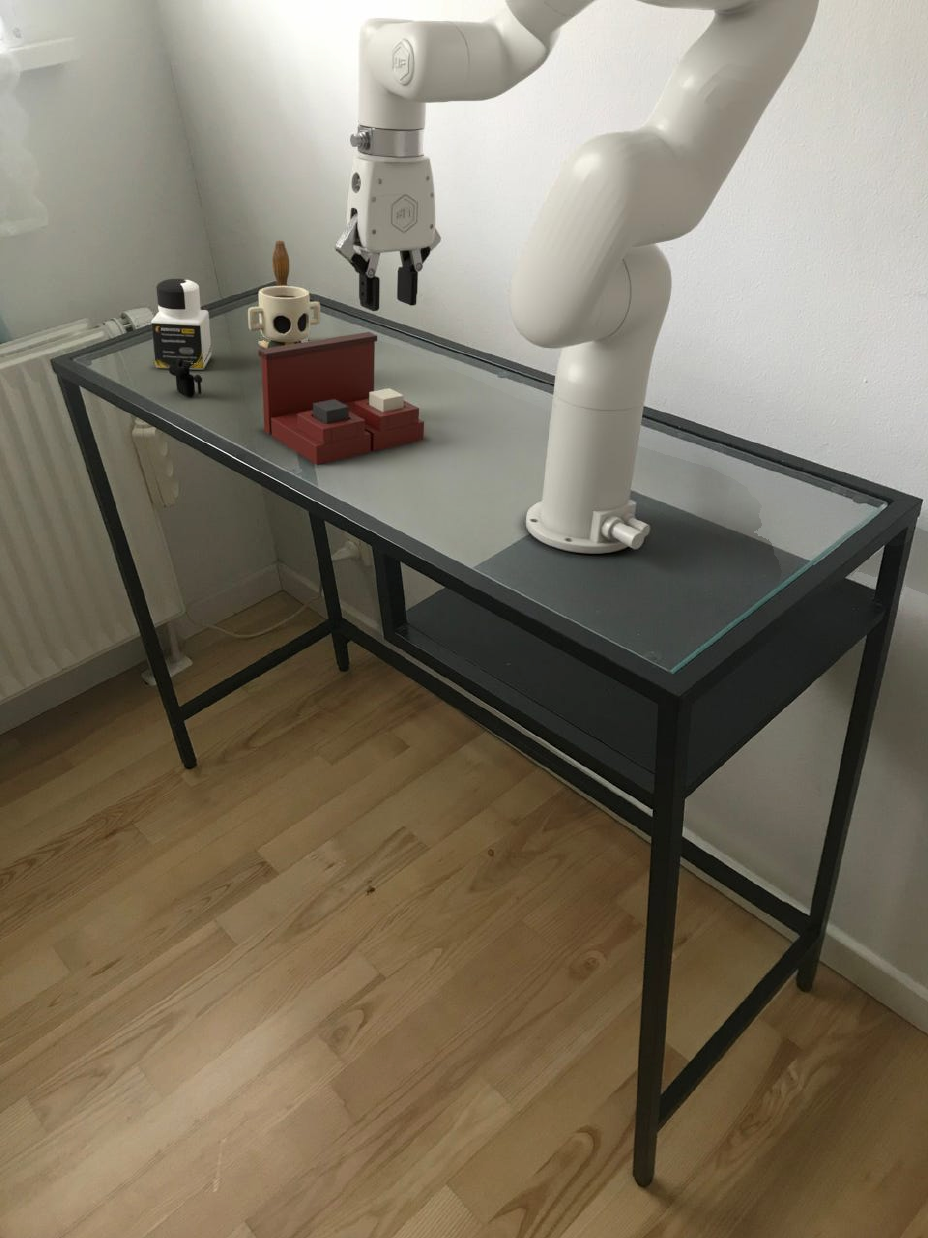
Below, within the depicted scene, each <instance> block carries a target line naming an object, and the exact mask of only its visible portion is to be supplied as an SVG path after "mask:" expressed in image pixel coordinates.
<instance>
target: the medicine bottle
mask: <svg viewBox="0 0 928 1238" xmlns="http://www.w3.org/2000/svg"><path fill="white" fill-rule="evenodd" d="M155 288H156V299H157V306H158V307H157V309H158V312H157V313H156V315H155V316H154V317H153V318H152V319H151V321H150V324H151V325H150V326H151V335H152V346H153V355H154V365H155V368H156V369H168V370H169V368H170V365H171V364H175V365H177V359H178V358H180V359H182V360H183V361H188V362H189V363H190V366H191V367H190V369H189V371H190V370H193V371H203V370H205V367H206V366H207V364H208V362H209V361H210V359H211V357H212V351H211V352H210V353H209V355H208V357H207V359H206V360H205V358H206V355H207V354H208V351H209V348H210V345H211V346H212V343H211V331H210V330H211V329H210V313H209V311H208V310H207V309H201V296H200V294H201V293H200V286H199V284H198V283H196V282H195V281H193V280H190V279H186V278H170V279H164V280H162V281H160V282H158V283H157V284H156V287H155ZM204 360H205V362H204ZM191 363H193V364H191ZM194 363H196V364H194ZM197 363H204V364H197ZM177 366H178V365H177ZM181 367H183V366H181Z"/></svg>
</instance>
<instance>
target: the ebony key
mask: <svg viewBox="0 0 928 1238" xmlns="http://www.w3.org/2000/svg"><path fill="white" fill-rule="evenodd" d="M313 417H314V418H316V419H318V420H320V421H321V422H323V423H325V424H326V425H327V424H330V423H335V422H340V421H344V420H349V407H348V406H346V405H345V404H343V403H341V402H339V401H337V400H335V399H333V400H328V401H323V402H318V403H313Z"/></svg>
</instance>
